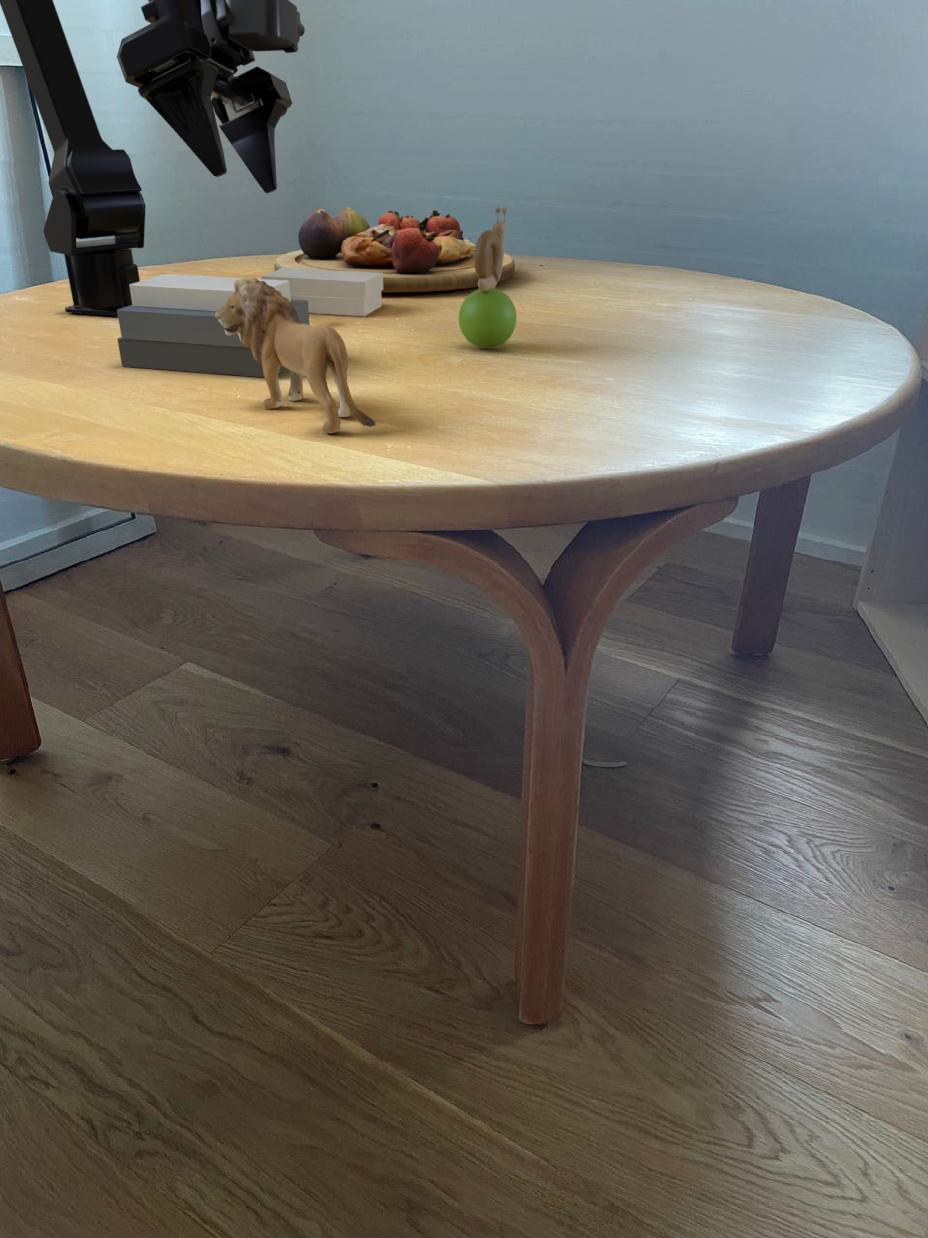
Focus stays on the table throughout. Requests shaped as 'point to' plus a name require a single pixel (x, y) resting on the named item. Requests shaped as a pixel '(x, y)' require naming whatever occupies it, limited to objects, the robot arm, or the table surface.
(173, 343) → the dark grey box
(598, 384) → the table surface
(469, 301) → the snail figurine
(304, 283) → the light grey block
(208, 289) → the white rectangular block
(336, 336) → the lion figurine
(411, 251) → the wooden plate
